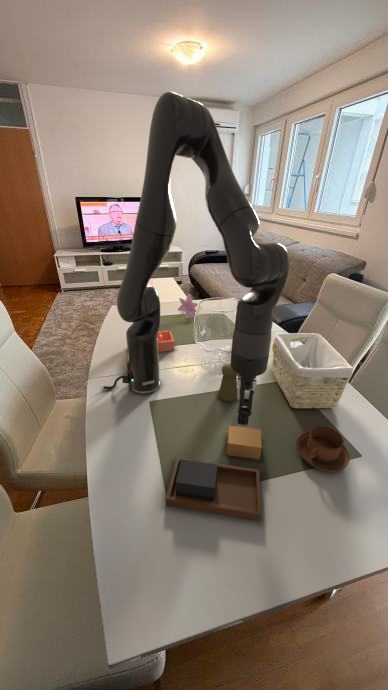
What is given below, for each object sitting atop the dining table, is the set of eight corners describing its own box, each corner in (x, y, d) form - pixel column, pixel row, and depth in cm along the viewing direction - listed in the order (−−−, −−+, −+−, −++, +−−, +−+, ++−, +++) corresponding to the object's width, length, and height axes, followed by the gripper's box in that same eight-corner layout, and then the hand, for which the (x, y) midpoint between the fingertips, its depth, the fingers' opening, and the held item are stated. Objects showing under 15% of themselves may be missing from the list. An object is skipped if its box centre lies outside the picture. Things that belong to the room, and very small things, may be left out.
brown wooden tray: (165, 505, 61) (165, 499, 60) (176, 463, 70) (176, 457, 69) (260, 521, 59) (261, 514, 58) (258, 475, 68) (259, 469, 67)
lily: (173, 320, 147) (180, 307, 141) (171, 304, 155) (178, 290, 148) (195, 325, 152) (203, 312, 145) (192, 309, 159) (200, 296, 153)
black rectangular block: (175, 494, 63) (175, 482, 61) (181, 471, 68) (181, 458, 66) (213, 500, 62) (214, 488, 60) (216, 476, 67) (217, 464, 65)
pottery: (170, 339, 127) (169, 318, 122) (174, 350, 119) (174, 327, 114) (127, 343, 123) (125, 321, 118) (128, 354, 115) (126, 331, 110)
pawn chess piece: (236, 402, 91) (240, 372, 86) (217, 399, 92) (219, 369, 87) (238, 390, 96) (241, 361, 91) (219, 388, 97) (221, 359, 92)
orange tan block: (226, 455, 73) (227, 443, 71) (227, 437, 78) (229, 425, 76) (259, 459, 72) (261, 447, 70) (258, 441, 77) (260, 429, 75)
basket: (267, 368, 108) (273, 331, 101) (311, 368, 109) (320, 331, 102) (289, 412, 87) (298, 370, 80) (342, 411, 88) (356, 369, 81)
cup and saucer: (343, 485, 66) (350, 465, 63) (289, 461, 72) (294, 442, 69) (350, 449, 75) (357, 431, 72) (302, 430, 81) (306, 413, 78)
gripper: (233, 331, 66) (228, 390, 74) (229, 363, 54) (223, 430, 62) (267, 334, 65) (259, 393, 73) (271, 368, 53) (260, 435, 61)
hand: (242, 410), depth 67 cm, fingers open, 8 cm apart
